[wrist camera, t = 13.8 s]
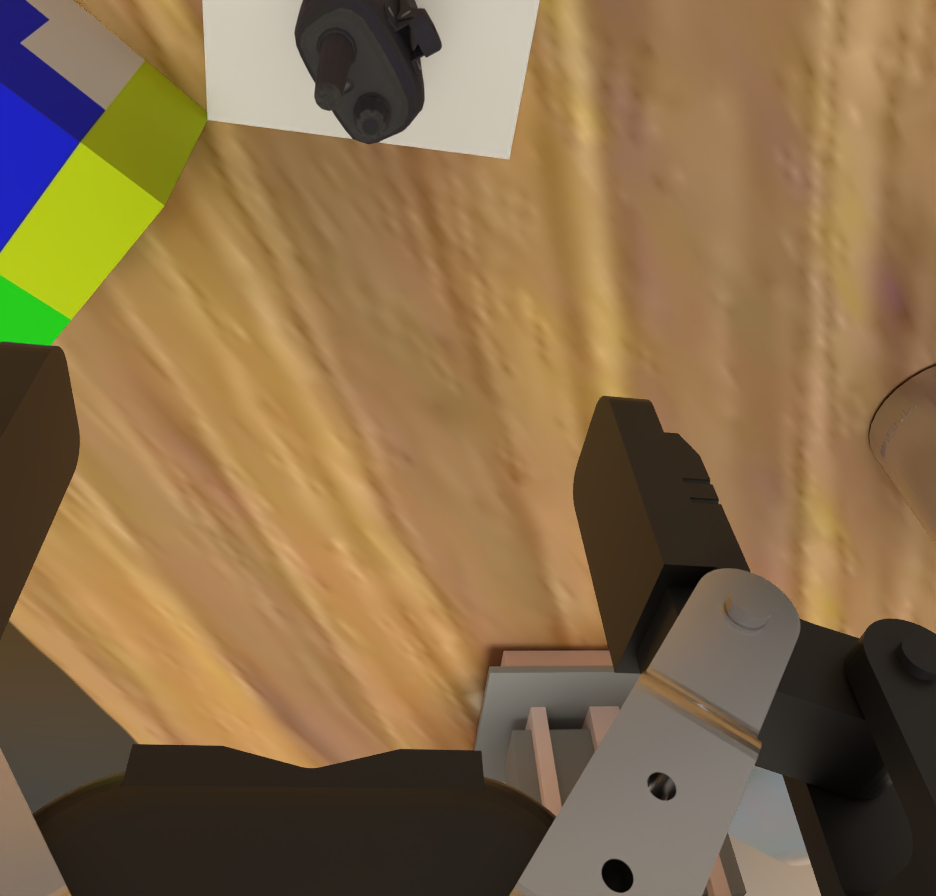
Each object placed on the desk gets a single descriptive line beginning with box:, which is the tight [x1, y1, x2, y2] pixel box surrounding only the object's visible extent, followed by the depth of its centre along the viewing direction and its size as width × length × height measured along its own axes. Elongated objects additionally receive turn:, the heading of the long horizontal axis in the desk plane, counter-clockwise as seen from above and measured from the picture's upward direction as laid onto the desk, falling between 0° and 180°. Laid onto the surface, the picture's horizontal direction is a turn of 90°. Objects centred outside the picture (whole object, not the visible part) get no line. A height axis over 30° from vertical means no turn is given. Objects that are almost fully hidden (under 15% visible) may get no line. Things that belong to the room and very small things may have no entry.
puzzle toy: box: [0, 0, 208, 346], centre depth 34 cm, size 10×10×10 cm
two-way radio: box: [294, 0, 442, 144], centre depth 29 cm, size 6×4×15 cm
